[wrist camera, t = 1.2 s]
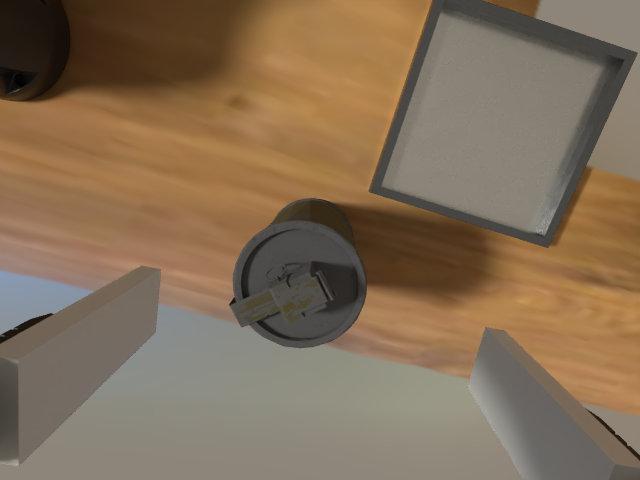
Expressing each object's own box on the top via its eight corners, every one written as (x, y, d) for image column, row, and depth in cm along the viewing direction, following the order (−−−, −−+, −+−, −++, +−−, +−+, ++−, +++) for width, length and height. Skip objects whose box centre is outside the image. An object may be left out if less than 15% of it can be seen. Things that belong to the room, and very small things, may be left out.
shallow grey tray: (368, 191, 43) (370, 192, 41) (433, -6, 38) (439, -14, 37) (538, 244, 44) (548, 248, 42) (623, 58, 39) (637, 52, 37)
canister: (331, 183, 43) (332, 201, 23) (366, 259, 45) (394, 334, 25) (251, 221, 44) (190, 267, 25) (289, 293, 46) (258, 389, 27)
